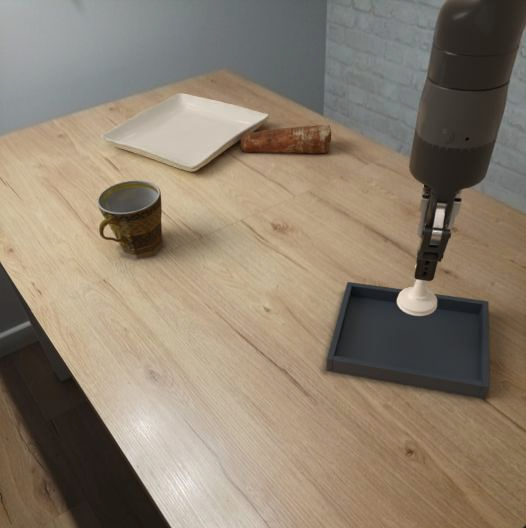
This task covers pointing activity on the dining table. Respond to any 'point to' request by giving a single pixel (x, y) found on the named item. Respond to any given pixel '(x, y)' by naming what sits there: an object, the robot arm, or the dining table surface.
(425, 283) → the chess piece
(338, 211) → the dining table surface
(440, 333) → the tray
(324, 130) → the rusty brown tapered cylinder
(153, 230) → the ceramic cup
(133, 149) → the square plate
